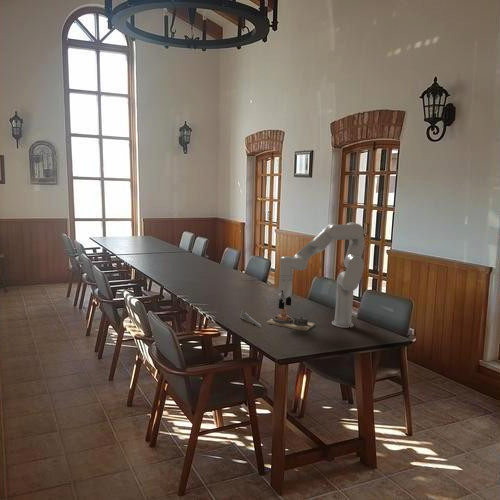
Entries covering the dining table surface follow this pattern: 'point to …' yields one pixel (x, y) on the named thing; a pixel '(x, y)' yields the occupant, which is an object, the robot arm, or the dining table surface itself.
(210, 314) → the dining table surface
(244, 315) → the caliper
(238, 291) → the dining table surface
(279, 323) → the carrier
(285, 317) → the planet gear
